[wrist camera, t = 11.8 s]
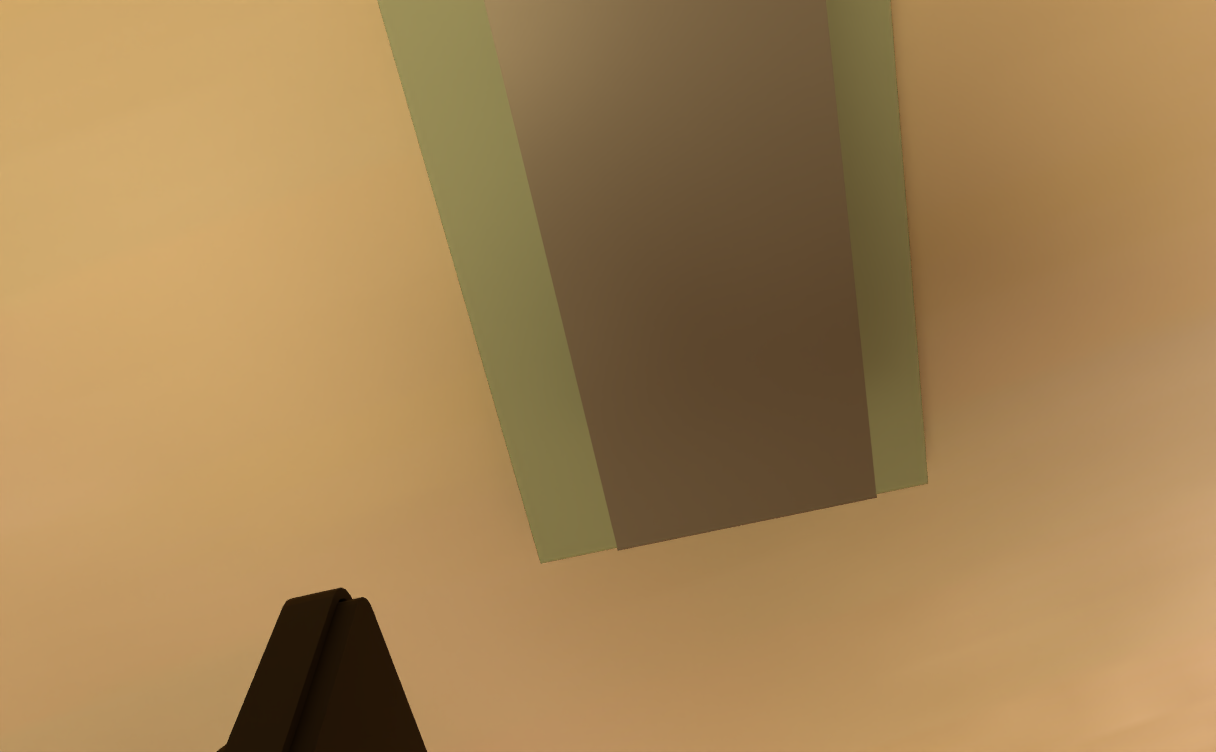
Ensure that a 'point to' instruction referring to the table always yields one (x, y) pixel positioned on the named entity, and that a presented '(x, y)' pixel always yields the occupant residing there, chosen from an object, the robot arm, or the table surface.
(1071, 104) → the table surface
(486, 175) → the pin board
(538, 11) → the plug housing
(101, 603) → the table surface
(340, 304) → the table surface
